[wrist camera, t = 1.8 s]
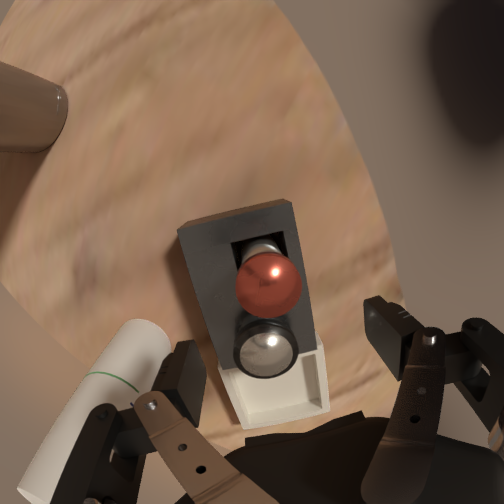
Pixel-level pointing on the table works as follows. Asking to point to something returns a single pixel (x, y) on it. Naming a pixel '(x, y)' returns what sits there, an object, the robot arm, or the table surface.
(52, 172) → the table surface
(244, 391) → the dish
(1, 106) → the robot arm
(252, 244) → the pin
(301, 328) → the dark grey block
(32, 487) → the cylindrical container
